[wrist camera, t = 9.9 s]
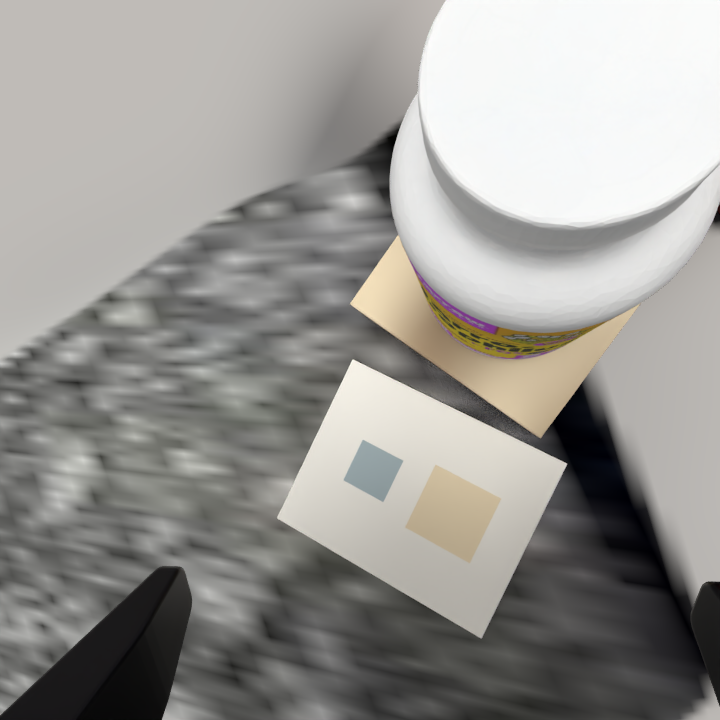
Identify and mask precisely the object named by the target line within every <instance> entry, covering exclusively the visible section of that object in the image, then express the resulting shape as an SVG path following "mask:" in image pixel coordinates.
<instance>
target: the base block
mask: <svg viewBox="0 0 720 720" xmlns="http://www.w3.org/2000/svg"><path fill="white" fill-rule="evenodd" d="M640 304H641V303H640ZM640 304H638V305H637V306H635V307H634V308H632V309H630V310H628V311H626V312H625V313H623V314H621V315H619V316H617V317H615V318H614V319H612V320H609V321H607V322H606V323H604V324H602V325H601V326H599V327H597V328H595V329H593V330H592V331H590V332H588V333H586V334H585V335H583V336H581V337H579V338H578V339H576V340H574V341H572V342H571V343H569V344H567V345H565V346H563V347H561V348H559V349H557V350H555V351H552V352H550V353H547V354H544V355H541V356H537V357H533V358H527V359H516V360H513V359H498V358H493V357H488V356H485V355H482V354H479V353H477V352H474V351H472V350H470V349H468V348H466V347H465V346H463V345H461V344H460V343H458V342H457V341H456V340H455V339H453V338H452V337H451V336H450V335H449V334H448V333H447V332H446V331H445V330H444V329H443V328H442V326H441V325H440V324H439V322H438V321H437V319H436V318H435V316H434V314H433V313H432V311H431V309H430V307H429V305H428V302H427V300H426V298H425V295H424V293H423V290H422V288H421V286H420V283H419V281H418V279H417V276H416V274H415V271H414V269H413V267H412V265H411V263H410V260H409V258H408V256H407V254H406V252H405V250H404V248H403V246H402V243H401V240H400V237H399V235H398V236H397V237H396V239H395V240H394V242H393V243H392V245H391V246H390V247H389V249H388V250H387V252H386V253H385V255H384V256H383V257H382V259H381V260H380V262H379V263H378V265H377V266H376V267H375V269H374V270H373V272H372V273H371V275H370V276H369V277H368V279H367V280H366V282H365V283H364V285H363V286H362V287H361V289H360V290H359V292H358V293H357V295H356V296H355V297H354V299H353V300H352V302H351V303H350V305H352V306H353V307H354V308H356V309H357V310H358V311H359V312H361V313H362V314H363V315H365V316H366V317H368V318H369V319H370V320H372V321H373V322H375V323H376V324H378V325H379V326H380V327H382V328H383V329H385V330H386V331H388V332H389V333H390V334H392V335H393V336H395V337H396V338H397V339H399V340H400V341H402V342H403V343H405V344H406V345H407V346H409V347H410V348H412V349H413V350H415V351H416V352H417V353H419V354H420V355H422V356H423V357H424V358H426V359H427V360H429V361H430V362H432V363H433V364H434V365H436V366H437V367H439V368H440V369H442V370H443V371H444V372H446V373H447V374H449V375H450V376H451V377H453V378H454V379H456V380H457V381H459V382H460V383H461V384H463V385H464V386H466V387H467V388H468V389H470V390H471V391H473V392H474V393H476V394H477V395H478V396H480V397H481V398H483V399H484V400H486V401H487V402H488V403H490V404H491V405H493V406H494V407H495V408H497V409H498V410H500V411H501V412H503V413H504V414H505V415H507V416H508V417H510V418H511V419H513V420H514V421H515V422H517V423H518V424H520V425H521V426H522V427H524V428H525V429H527V430H528V431H530V432H531V433H532V434H534V435H536V436H538V437H539V438H541V437H542V436H543V434H544V433H545V431H546V430H547V429H548V427H549V426H550V425H551V423H552V422H553V421H554V419H555V418H556V417H557V415H558V414H559V413H560V411H561V410H562V409H563V407H564V406H565V405H566V403H567V402H568V401H569V399H570V398H571V397H572V395H573V394H574V392H575V391H576V390H577V388H578V387H579V386H580V384H581V383H582V382H583V380H584V379H585V378H586V376H587V375H588V374H589V372H590V371H591V370H592V368H593V367H594V366H595V364H596V363H597V362H598V360H599V359H600V358H601V356H602V355H603V354H604V352H605V351H606V349H607V348H608V347H609V345H610V344H611V343H612V341H613V340H614V339H615V337H616V336H617V335H618V333H619V332H620V331H621V329H622V328H623V327H624V325H625V324H626V323H627V321H628V320H629V319H630V317H631V316H632V315H633V313H634V312H635V310H636V309H637V308H638V306H639V305H640Z"/></svg>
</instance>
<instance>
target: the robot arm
mask: <svg viewBox="0 0 720 720" xmlns="http://www.w3.org/2000/svg"><path fill="white" fill-rule="evenodd" d="M191 607H192V596H191V592H190V588H189V585H188V581H187V578H186V574H185V571H184V569H183V568H182V567H178V566H162V567H159V568H158V569H156V570H155V571H154V572H153V573H152V574H151V575H150V576H149V577H147V578H146V579H145V580H144V581H143V582H142V583H141V584H140V585H139V586H138V587H137V588H136V589H135V590H134V591H133V592H131V593H130V594H129V595H128V596H127V597H126V598H125V599H124V600H123V601H122V602H121V603H120V604H119V605H118V606H117V607H115V608H114V609H113V610H112V611H111V612H110V613H109V614H108V615H107V616H106V617H105V618H104V619H103V620H102V621H100V622H99V623H98V624H97V625H96V626H95V627H94V628H93V629H92V630H91V631H90V632H89V633H88V634H87V635H86V636H84V637H83V638H82V639H81V640H80V641H79V642H78V643H77V644H76V645H75V646H74V647H73V648H72V649H71V650H70V651H68V652H67V653H66V654H65V655H64V656H63V657H62V658H61V659H60V660H59V661H58V662H57V663H56V664H55V665H54V666H52V667H51V668H50V669H49V670H48V671H47V672H46V673H45V674H44V675H43V676H42V677H41V678H40V679H39V680H38V681H36V682H35V683H34V684H33V685H32V686H31V687H30V688H29V689H28V690H27V691H26V692H25V693H24V694H23V695H22V696H20V697H19V698H18V699H17V700H16V701H15V702H14V703H13V704H12V705H11V706H10V707H9V708H8V709H7V710H6V711H4V712H3V713H2V714H1V715H0V720H162V717H163V714H164V711H165V708H166V705H167V702H168V699H169V696H170V692H171V688H172V684H173V680H174V676H175V672H176V668H177V664H178V660H179V656H180V652H181V648H182V644H183V640H184V636H185V632H186V628H187V624H188V620H189V616H190V612H191ZM691 625H692V629H693V632H694V634H695V637H696V640H697V643H698V646H699V649H700V651H701V654H702V657H703V660H704V663H705V666H706V669H707V671H708V674H709V677H710V680H711V683H712V686H713V688H714V691H715V694H716V697H717V700H718V703H719V706H720V582H706V583H704V584H703V585H702V587H701V589H700V591H699V594H698V596H697V599H696V601H695V603H694V606H693V608H692V611H691Z"/></svg>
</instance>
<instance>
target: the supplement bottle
mask: <svg viewBox="0 0 720 720" xmlns="http://www.w3.org/2000/svg"><path fill="white" fill-rule="evenodd" d="M390 200H391V208H392V214H393V218H394V222H395V225H396V229H397V232H398V234H399V237H400V240H401V243H402V246H403V248H404V250H405V252H406V254H407V256H408V258H409V260H410V263H411V265H412V267H413V269H414V271H415V274H416V276H417V279H418V281H419V283H420V286H421V288H422V290H423V293H424V295H425V298H426V300H427V302H428V305H429V307H430V309H431V311H432V313H433V314H434V316H435V318H436V319H437V321H438V322H439V324H440V325H441V326H442V328H443V329H444V330H445V331H446V332H447V333H448V334H449V335H450V336H451V337H452V338H453V339H455V340H456V341H457V342H458V343H460V344H461V345H463V346H465V347H466V348H468V349H470V350H472V351H474V352H477V353H479V354H482V355H485V356H488V357H493V358H498V359H513V360H516V359H527V358H533V357H537V356H541V355H544V354H547V353H550V352H552V351H555V350H557V349H559V348H561V347H563V346H565V345H567V344H569V343H571V342H572V341H574V340H576V339H578V338H579V337H581V336H583V335H585V334H586V333H588V332H590V331H592V330H593V329H595V328H597V327H599V326H601V325H602V324H604V323H606V322H607V321H609V320H612V319H614V318H615V317H617V316H619V315H621V314H623V313H625V312H626V311H628V310H630V309H632V308H634V307H635V306H637V305H638V304H640V303H641V302H643V301H644V300H646V299H647V298H649V297H650V296H652V295H653V294H654V293H656V292H657V291H659V290H660V289H661V288H662V287H664V286H665V285H666V284H667V283H668V282H669V281H670V280H671V279H672V278H673V277H674V276H675V275H676V274H677V273H678V272H679V271H680V270H681V269H682V268H683V267H684V266H685V265H686V263H687V262H688V261H689V259H690V258H691V257H692V255H693V254H694V253H695V251H696V250H697V248H698V247H699V246H700V244H701V243H702V241H703V239H704V238H705V236H706V234H707V232H708V230H709V228H710V226H711V224H712V222H713V219H714V217H715V214H716V211H717V208H718V206H719V203H720V0H446V1H445V3H444V4H443V5H442V7H441V9H440V11H439V13H438V14H437V16H436V18H435V20H434V22H433V24H432V27H431V29H430V31H429V34H428V37H427V40H426V43H425V46H424V49H423V53H422V58H421V62H420V70H419V77H418V93H417V94H416V96H415V97H414V99H413V101H412V102H411V104H410V106H409V108H408V111H407V112H406V114H405V117H404V119H403V122H402V124H401V127H400V130H399V133H398V136H397V139H396V143H395V146H394V150H393V155H392V161H391V170H390Z"/></svg>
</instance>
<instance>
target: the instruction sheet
mask: <svg viewBox="0 0 720 720" xmlns="http://www.w3.org/2000/svg"><path fill="white" fill-rule="evenodd" d="M566 466H567V463H565V462H563V461H561V460H559V459H557V458H555V457H553V456H550V455H548V454H546V453H544V452H542V451H540V450H538V449H536V448H534V447H532V446H530V445H528V444H526V443H524V442H522V441H520V440H518V439H516V438H513V437H511V436H509V435H507V434H505V433H503V432H501V431H499V430H497V429H495V428H493V427H491V426H489V425H487V424H485V423H483V422H481V421H479V420H476V419H474V418H472V417H470V416H468V415H466V414H464V413H462V412H460V411H458V410H456V409H454V408H452V407H450V406H448V405H446V404H444V403H442V402H439V401H437V400H435V399H433V398H431V397H429V396H427V395H425V394H423V393H421V392H419V391H417V390H415V389H413V388H411V387H409V386H407V385H405V384H402V383H400V382H398V381H396V380H394V379H392V378H390V377H388V376H386V375H384V374H382V373H380V372H378V371H376V370H374V369H372V368H370V367H368V366H365V365H363V364H361V363H359V362H357V361H355V360H352V362H351V364H350V366H349V368H348V370H347V372H346V375H345V377H344V379H343V381H342V383H341V385H340V387H339V389H338V391H337V393H336V396H335V398H334V400H333V402H332V404H331V406H330V408H329V410H328V412H327V414H326V416H325V419H324V421H323V423H322V425H321V427H320V429H319V431H318V433H317V435H316V437H315V439H314V442H313V444H312V446H311V448H310V450H309V452H308V454H307V456H306V458H305V460H304V462H303V465H302V467H301V469H300V471H299V473H298V475H297V477H296V479H295V481H294V483H293V486H292V488H291V490H290V492H289V494H288V496H287V498H286V500H285V502H284V504H283V506H282V509H281V511H280V513H279V515H278V517H277V519H279V520H281V521H282V522H284V523H286V524H288V525H289V526H291V527H293V528H294V529H296V530H298V531H299V532H301V533H303V534H305V535H306V536H308V537H310V538H311V539H313V540H315V541H316V542H318V543H320V544H321V545H323V546H325V547H327V548H328V549H330V550H332V551H333V552H335V553H337V554H338V555H340V556H342V557H344V558H345V559H347V560H349V561H350V562H352V563H354V564H355V565H357V566H359V567H361V568H362V569H364V570H366V571H367V572H369V573H371V574H372V575H374V576H376V577H378V578H379V579H381V580H383V581H384V582H386V583H388V584H389V585H391V586H393V587H395V588H396V589H398V590H400V591H401V592H403V593H405V594H406V595H408V596H410V597H411V598H413V599H415V600H417V601H418V602H420V603H422V604H423V605H425V606H427V607H428V608H430V609H432V610H434V611H435V612H437V613H439V614H440V615H442V616H444V617H445V618H447V619H449V620H451V621H452V622H454V623H456V624H457V625H459V626H461V627H462V628H464V629H466V630H468V631H469V632H471V633H473V634H474V635H476V636H478V637H479V638H481V639H482V637H483V634H484V632H485V630H486V628H487V626H488V624H489V622H490V620H491V618H492V616H493V614H494V612H495V610H496V608H497V606H498V604H499V602H500V600H501V598H502V596H503V594H504V592H505V590H506V588H507V586H508V584H509V582H510V580H511V577H512V575H513V573H514V571H515V569H516V567H517V565H518V563H519V561H520V559H521V557H522V555H523V553H524V551H525V549H526V547H527V545H528V543H529V541H530V539H531V537H532V535H533V533H534V531H535V529H536V527H537V525H538V523H539V520H540V518H541V516H542V514H543V512H544V510H545V508H546V506H547V504H548V502H549V500H550V498H551V496H552V494H553V492H554V490H555V488H556V486H557V484H558V482H559V480H560V478H561V476H562V474H563V472H564V470H565V468H566Z"/></svg>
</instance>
